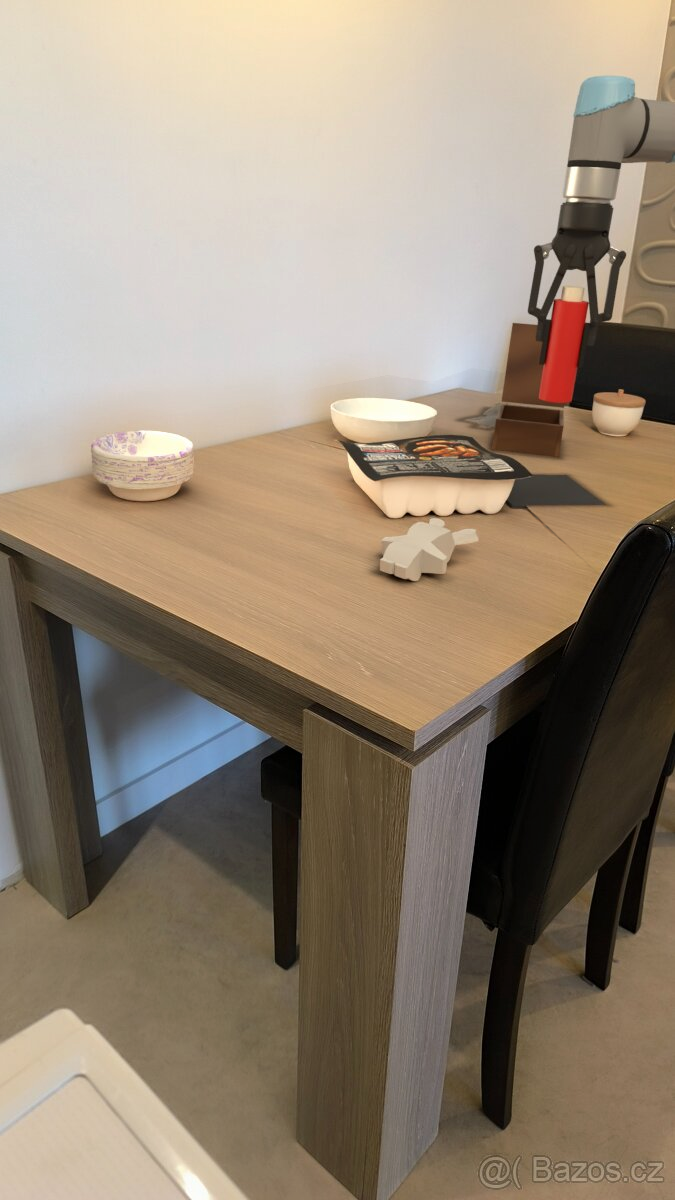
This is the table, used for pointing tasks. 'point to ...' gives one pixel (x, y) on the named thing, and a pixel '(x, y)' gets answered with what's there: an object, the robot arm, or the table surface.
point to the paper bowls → (142, 464)
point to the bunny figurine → (422, 549)
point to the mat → (549, 492)
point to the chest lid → (524, 368)
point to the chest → (528, 430)
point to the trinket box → (616, 412)
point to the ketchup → (563, 346)
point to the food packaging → (433, 475)
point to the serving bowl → (382, 419)
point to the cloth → (489, 416)
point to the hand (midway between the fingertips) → (560, 364)
